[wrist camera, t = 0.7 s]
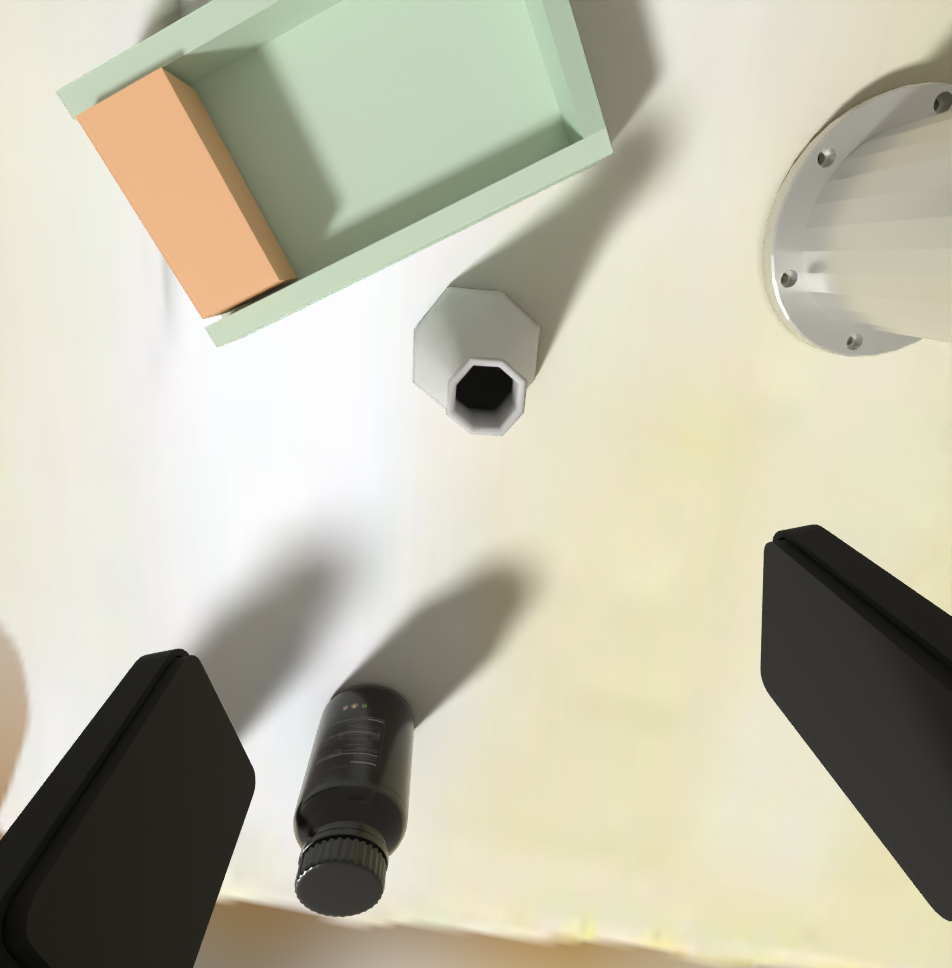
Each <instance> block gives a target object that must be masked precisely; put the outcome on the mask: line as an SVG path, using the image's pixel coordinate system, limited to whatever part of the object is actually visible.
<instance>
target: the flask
mask: <svg viewBox="0 0 952 968" xmlns="http://www.w3.org/2000/svg"><path fill="white" fill-rule="evenodd" d="M540 328H541V327H540V326H539V325H538V324H536V323H535V322H534V321H533V320H532V319H531V318H530V317H529V316H528V315H527V314H526V313H525V312H524V311H523V310H522V309H520V308H519V307H518V306H517V305H516V304H515V303H514V302H513V301H512V300H511V299H510V298H509V297H508V296H507V295H506V294H504V293H503V292H502V291H495V290H482V289H468V288H455V287H447V289H446V290H445V291H444V292H443V294H442V295H441V296H440V297H439V299H438V300H437V301H436V302H435V304H434V305H433V306H432V308H431V309H430V310H429V311H428V313H427V314H426V315H425V316H424V318H423V319H422V320H421V321H420V323H419V324H418V325H417V326H416V328H415V329H414V347H413V383H414V384H416V385H417V386H418V387H419V388H420V389H422V390H423V391H424V392H425V393H427V394H428V395H429V396H430V397H431V398H433V399H434V400H435V401H436V402H438V403H439V404H440V405H441V406H442V407H444V408H445V409H446V414H447V415H448V416H449V417H450V418H452V419H453V420H454V421H455V422H456V423H458V424H459V425H460V426H461V427H463V428H464V429H465V430H466V431H467V432H469V433H470V434H475V435H493V436H503V435H504V434H505V433H506V432H507V430H508V429H509V428H510V427H511V426H512V425H513V424H514V423H515V422H516V421H517V420H518V418H519V417H520V416H521V415H522V414H523V413H524V407H525V398H526V389H527V387H528V386H529V385H530V384H531V383H532V382H533V381H534V380H535V372H536V363H537V355H538V346H539V337H540Z"/></svg>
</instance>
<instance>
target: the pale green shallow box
mask: <svg viewBox="0 0 952 968" xmlns="http://www.w3.org/2000/svg"><path fill="white" fill-rule="evenodd" d="M159 68H163V69H164V70H166V71H167V72H169V73H170V74H172V75H173V76H175V77H176V78H178V79H179V80H181V81H182V82H184V83H185V84H187V85H189V86H190V87H192V88H193V89H195V91H196V92H197V94H198V96H199V98H200V100H201V102H202V103H203V105H204V107H205V109H206V111H207V113H208V115H209V116H210V118H211V120H212V122H213V124H214V126H215V127H216V129H217V131H218V133H219V135H220V137H221V139H222V140H223V142H224V144H225V146H226V148H227V150H228V151H229V153H230V155H231V157H232V159H233V161H234V163H235V164H236V166H237V168H238V170H239V172H240V174H241V175H242V177H243V179H244V181H245V183H246V185H247V187H248V188H249V190H250V192H251V194H252V196H253V198H254V199H255V201H256V203H257V205H258V207H259V209H260V210H261V212H262V214H263V216H264V218H265V220H266V222H267V223H268V225H269V227H270V229H271V231H272V233H273V234H274V236H275V238H276V240H277V242H278V244H279V246H280V247H281V249H282V251H283V253H284V255H285V257H286V258H287V260H288V262H289V264H290V266H291V268H292V270H293V271H294V273H295V275H296V277H297V279H295V280H293V281H291V282H289V283H287V284H285V285H282V286H280V287H278V288H276V289H274V290H272V291H270V292H268V293H266V294H264V295H262V296H260V297H258V298H256V299H254V300H252V301H250V302H248V303H246V304H244V305H242V306H240V307H238V308H236V309H234V310H232V311H230V312H228V313H225V314H221V316H222V318H223V319H221V320H219V321H217V322H215V323H213V324H211V325H209V326H207V327H205V329H206V331H207V332H208V334H209V336H210V337H211V339H212V340H213V342H214V344H215V345H216V347H220V346H223V345H225V344H228V343H230V342H233V341H236V340H238V339H241V338H243V337H246V336H248V335H250V334H252V333H254V332H256V331H258V330H260V329H262V328H264V327H266V326H268V325H270V324H272V323H274V322H276V321H278V320H280V319H282V318H284V317H286V316H289V315H291V314H293V313H295V312H297V311H299V310H301V309H303V308H305V307H307V306H309V305H311V304H313V303H315V302H317V301H319V300H321V299H323V298H325V297H327V296H329V295H331V294H333V293H335V292H337V291H339V290H341V289H343V288H345V287H348V286H350V285H352V284H354V283H356V282H358V281H360V280H362V279H364V278H366V277H368V276H370V275H372V274H374V273H376V272H378V271H380V270H382V269H384V268H386V267H388V266H390V265H392V264H394V263H396V262H398V261H400V260H402V259H405V258H407V257H409V256H411V255H413V254H415V253H417V252H419V251H421V250H423V249H425V248H427V247H429V246H431V245H433V244H435V243H437V242H439V241H441V240H443V239H445V238H447V237H449V236H451V235H453V234H455V233H457V232H459V231H462V230H464V229H466V228H468V227H470V226H472V225H474V224H476V223H478V222H480V221H482V220H484V219H486V218H488V217H490V216H492V215H494V214H496V213H498V212H500V211H502V210H504V209H506V208H508V207H510V206H512V205H514V204H516V203H519V202H521V201H523V200H525V199H527V198H529V197H531V196H533V195H535V194H537V193H539V192H541V191H543V190H545V189H547V188H549V187H551V186H553V185H555V184H557V183H559V182H561V181H563V180H565V179H567V178H569V177H571V176H573V175H576V174H578V173H580V172H582V171H584V170H586V169H588V168H590V167H592V166H593V165H595V164H597V163H598V162H600V161H601V160H603V159H604V158H606V157H607V156H609V155H610V154H612V153H613V150H612V146H611V143H610V140H609V136H608V133H607V129H606V126H605V122H604V119H603V116H602V112H601V109H600V105H599V102H598V98H597V95H596V91H595V88H594V85H593V81H592V78H591V74H590V71H589V67H588V64H587V60H586V57H585V54H584V50H583V47H582V43H581V40H580V36H579V33H578V30H577V26H576V23H575V19H574V16H573V12H572V9H571V5H570V2H569V0H212V1H210V2H208V3H207V4H205V5H203V6H202V7H200V8H198V9H197V10H195V11H193V12H191V13H190V14H188V15H186V16H185V17H183V18H181V19H179V20H178V21H176V22H174V23H173V24H171V25H169V26H167V27H166V28H164V29H162V30H161V31H159V32H157V33H155V34H154V35H152V36H150V37H149V38H147V39H145V40H143V41H142V42H140V43H138V44H137V45H135V46H133V47H131V48H130V49H128V50H126V51H125V52H123V53H121V54H119V55H118V56H116V57H114V58H113V59H111V60H109V61H107V62H106V63H104V64H102V65H101V66H99V67H97V68H95V69H94V70H92V71H90V72H89V73H87V74H85V75H83V76H82V77H80V78H78V79H77V80H75V81H73V82H71V83H70V84H68V85H66V86H65V87H63V88H61V89H59V90H58V91H56V93H57V95H58V96H59V98H60V99H61V101H62V102H63V104H64V106H65V107H66V109H67V110H68V112H69V114H70V115H71V117H72V118H73V119H74V120H77V118H76V117H75V116H77V115H79V114H80V113H82V112H84V111H86V110H87V109H89V108H91V107H93V106H94V105H96V104H98V103H100V102H101V101H103V100H105V99H107V98H108V97H110V96H112V95H113V94H115V93H117V92H119V91H120V90H122V89H124V88H126V87H127V86H129V85H131V84H133V83H134V82H136V81H138V80H140V79H141V78H143V77H145V76H147V75H148V74H150V73H152V72H154V71H155V70H157V69H159ZM77 121H78V120H77Z"/></svg>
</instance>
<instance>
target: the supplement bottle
mask: <svg viewBox="0 0 952 968" xmlns="http://www.w3.org/2000/svg"><path fill="white" fill-rule="evenodd" d="M413 734H414V719H413V714H412V712H411V709H410V707H409V706H408V704H407V703H406V702H405V701H404V700H403V699H402V698H401V697H400V696H399V695H397V694H396V693H394V692H392V691H391V690H388V689H385V688H382V687H378V686H357V687H353V688H350V689H347V690H345V691H343V692H341V693H339V694H338V695H336V696H335V697H334V698H333V699H332V700H331V701H330V702H329V703H328V704H327V706H326V707H325V709H324V711H323V714H322V717H321V720H320V724H319V727H318V730H317V734H316V737H315V741H314V745H313V748H312V752H311V755H310V759H309V763H308V766H307V770H306V773H305V777H304V781H303V784H302V788H301V791H300V795H299V799H298V802H297V806H296V810H295V814H294V820H293V827H294V833H295V837H296V840H297V842H298V844H299V846H300V848H301V849H302V850H301V853H300V857H299V862H298V865H299V868H298V872H297V876H296V880H295V893H296V894H297V898H298V899H299V900H300V903H302V904H304V906H305V907H307V908H309V909H310V910H311V911H314V912H317V913H318V914H323V915H325V916H333V917H338V916H339V917H345V916H353V915H356V914H360V913H362V912H365V911H367V910H368V909H370V908H372V907H373V906H374V905H375V904H377V903H378V900H379V899H381V897H382V894H383V892H384V887H385V877H386V871H387V868H388V859H389V856H390V855H391V854H392V853H393V852H394V851H395V850H396V849H397V847H398V846H399V844H400V843H401V841H402V839H403V837H404V835H405V832H406V827H407V820H408V807H409V793H410V779H411V764H412V750H413Z"/></svg>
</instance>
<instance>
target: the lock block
mask: <svg viewBox="0 0 952 968" xmlns="http://www.w3.org/2000/svg"><path fill="white" fill-rule="evenodd" d="M75 117H76V118H77V120H78V121H79V123H80V125H81V126H82V128H83V129H84V131H85V132H86V134H87V136H88V137H89V139H90V140H91V142H92V144H93V145H94V147H95V148H96V150H97V152H98V153H99V155H100V156H101V158H102V160H103V161H104V163H105V164H106V166H107V168H108V169H109V171H110V172H111V174H112V175H113V177H114V179H115V180H116V182H117V183H118V185H119V187H120V188H121V190H122V191H123V193H124V195H125V196H126V198H127V199H128V201H129V203H130V204H131V206H132V207H133V209H134V211H135V212H136V214H137V215H138V217H139V219H140V220H141V222H142V223H143V225H144V226H145V228H146V230H147V231H148V233H149V234H150V236H151V238H152V239H153V241H154V242H155V244H156V246H157V247H158V249H159V250H160V252H161V254H162V255H163V257H164V258H165V260H166V262H167V263H168V265H169V266H170V268H171V269H172V271H173V273H174V274H175V276H176V277H177V279H178V281H179V282H180V284H181V285H182V287H183V289H184V290H185V292H186V293H187V295H188V297H189V298H190V300H191V301H192V303H193V305H194V306H195V308H196V309H197V311H198V312H199V314H200V316H201V317H202V319H205V318H209V317H213V316H217V315H221V314H225V313H228V312H230V311H232V310H234V309H236V308H238V307H240V306H242V305H244V304H246V303H248V302H250V301H252V300H254V299H256V298H258V297H260V296H262V295H264V294H266V293H268V292H270V291H272V290H274V289H276V288H278V287H280V286H282V285H285V284H287V283H289V282H291V281H293V280H295V279H297V277H296V275H295V273H294V271H293V270H292V268H291V266H290V264H289V262H288V260H287V258H286V257H285V255H284V253H283V251H282V249H281V247H280V246H279V244H278V242H277V240H276V238H275V236H274V234H273V233H272V231H271V229H270V227H269V225H268V223H267V222H266V220H265V218H264V216H263V214H262V212H261V210H260V209H259V207H258V205H257V203H256V201H255V199H254V198H253V196H252V194H251V192H250V190H249V188H248V187H247V185H246V183H245V181H244V179H243V177H242V175H241V174H240V172H239V170H238V168H237V166H236V164H235V163H234V161H233V159H232V157H231V155H230V153H229V151H228V150H227V148H226V146H225V144H224V142H223V140H222V139H221V137H220V135H219V133H218V131H217V129H216V127H215V126H214V124H213V122H212V120H211V118H210V116H209V115H208V113H207V111H206V109H205V107H204V105H203V103H202V102H201V100H200V98H199V96H198V94H197V92H196V91H195V89H193V88H192V87H190V86H189V85H187V84H185V83H184V82H182V81H181V80H179V79H178V78H176V77H175V76H173V75H172V74H170V73H169V72H167V71H166V70H164V69H163V68H159V69H157V70H155V71H154V72H152V73H150V74H148V75H147V76H145V77H143V78H141V79H140V80H138V81H136V82H134V83H133V84H131V85H129V86H127V87H126V88H124V89H122V90H120V91H119V92H117V93H115V94H113V95H112V96H110V97H108V98H107V99H105V100H103V101H101V102H100V103H98V104H96V105H94V106H93V107H91V108H89V109H87V110H86V111H84V112H82V113H80V114H79V115H77V116H75Z"/></svg>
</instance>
